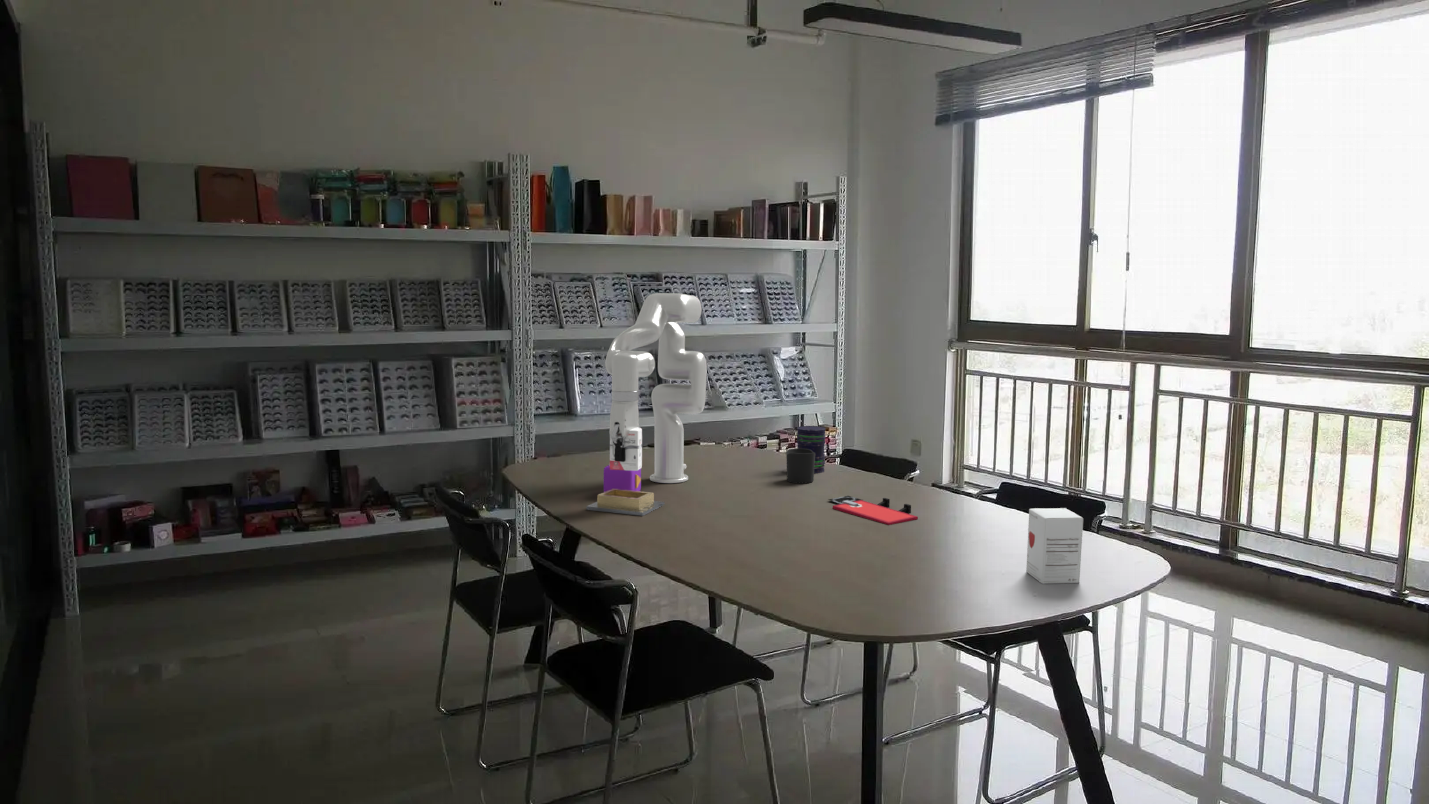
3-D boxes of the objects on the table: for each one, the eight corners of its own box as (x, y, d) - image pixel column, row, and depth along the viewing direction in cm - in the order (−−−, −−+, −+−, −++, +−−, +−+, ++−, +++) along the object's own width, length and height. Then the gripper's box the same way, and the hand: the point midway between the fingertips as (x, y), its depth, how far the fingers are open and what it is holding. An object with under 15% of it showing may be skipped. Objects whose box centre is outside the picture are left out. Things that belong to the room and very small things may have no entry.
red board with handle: (852, 497, 297) (815, 505, 288) (852, 488, 296) (815, 495, 288) (926, 519, 273) (888, 528, 264) (927, 509, 272) (889, 518, 264)
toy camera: (645, 489, 306) (645, 457, 305) (637, 499, 292) (637, 466, 291) (611, 488, 307) (611, 457, 306) (602, 498, 293) (601, 465, 292)
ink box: (608, 469, 278) (608, 428, 277) (613, 466, 283) (613, 426, 282) (638, 471, 277) (638, 429, 275) (642, 467, 282) (642, 427, 280)
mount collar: (609, 499, 291) (609, 486, 291) (664, 505, 285) (664, 491, 284) (586, 509, 279) (586, 496, 278) (642, 515, 272) (642, 501, 271)
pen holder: (819, 480, 321) (820, 450, 320) (806, 485, 313) (807, 454, 312) (794, 477, 326) (794, 447, 325) (780, 481, 318) (781, 451, 317)
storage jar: (797, 467, 342) (797, 425, 341) (825, 468, 341) (826, 426, 339) (795, 473, 333) (796, 429, 331) (824, 474, 331) (825, 430, 329)
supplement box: (1024, 571, 223) (1027, 507, 221) (1062, 571, 223) (1066, 507, 222) (1041, 584, 214) (1044, 517, 212) (1080, 583, 214) (1084, 517, 213)
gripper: (627, 393, 287) (627, 453, 289) (598, 399, 271) (599, 463, 273) (650, 394, 284) (650, 455, 286) (622, 400, 268) (623, 465, 270)
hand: (625, 458), depth 280 cm, fingers closed on ink box, 5 cm apart
